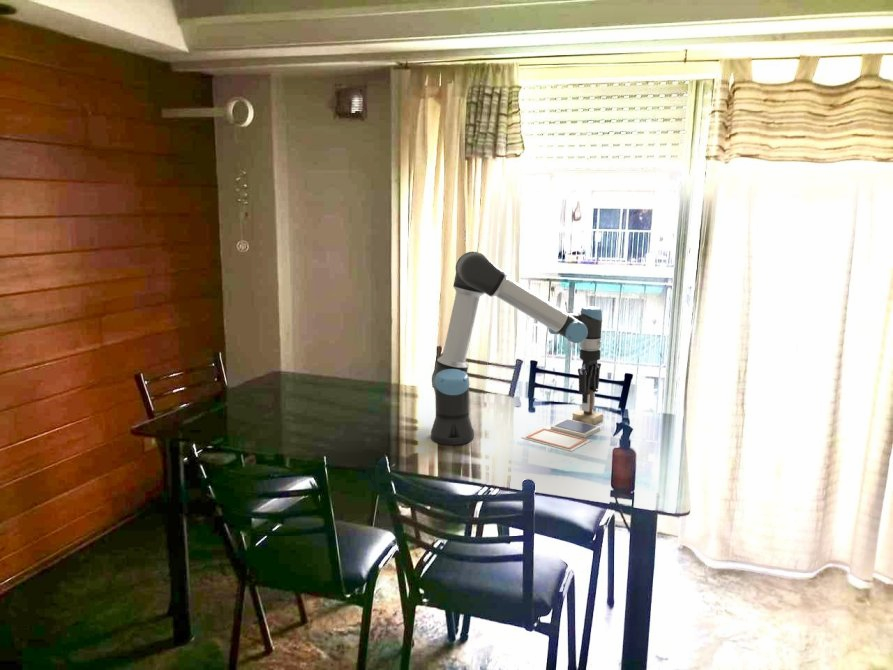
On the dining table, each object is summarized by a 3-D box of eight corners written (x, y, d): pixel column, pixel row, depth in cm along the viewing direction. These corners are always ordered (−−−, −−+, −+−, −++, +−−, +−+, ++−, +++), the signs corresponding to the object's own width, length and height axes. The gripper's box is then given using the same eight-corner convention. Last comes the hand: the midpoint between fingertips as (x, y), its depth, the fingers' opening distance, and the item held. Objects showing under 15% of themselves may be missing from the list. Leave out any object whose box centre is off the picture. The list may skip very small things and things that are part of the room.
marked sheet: (521, 437, 231) (521, 436, 231) (542, 428, 241) (542, 426, 241) (571, 451, 218) (571, 450, 218) (591, 440, 228) (591, 439, 228)
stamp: (572, 419, 250) (573, 390, 248) (581, 415, 255) (582, 386, 253) (593, 425, 244) (594, 394, 242) (602, 420, 249) (604, 390, 247)
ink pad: (550, 429, 240) (550, 425, 239) (566, 421, 248) (566, 418, 248) (584, 438, 231) (585, 434, 230) (600, 429, 239) (600, 426, 239)
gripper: (588, 354, 236) (586, 416, 241) (609, 346, 248) (607, 406, 253) (570, 351, 241) (568, 412, 245) (591, 343, 253) (589, 402, 257)
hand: (588, 409), depth 249 cm, fingers closed on stamp, 3 cm apart
